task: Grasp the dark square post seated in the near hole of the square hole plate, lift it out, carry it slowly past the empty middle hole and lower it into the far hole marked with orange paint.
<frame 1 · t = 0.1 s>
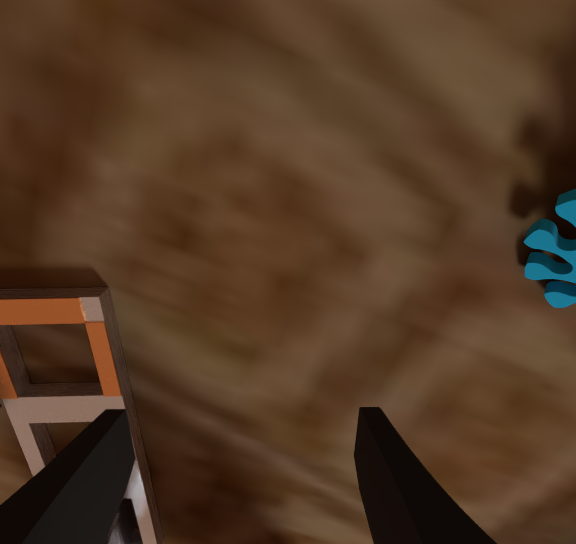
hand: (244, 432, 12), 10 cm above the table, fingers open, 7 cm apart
square hole plate: (88, 436, 25), on the table
dark square post: (109, 506, 28), resting in square hole plate
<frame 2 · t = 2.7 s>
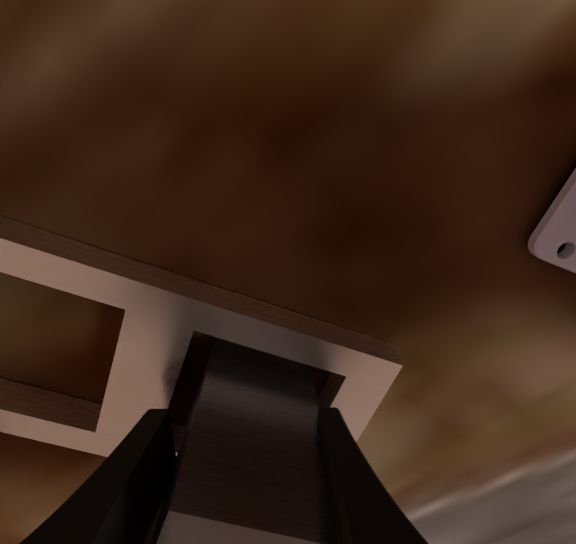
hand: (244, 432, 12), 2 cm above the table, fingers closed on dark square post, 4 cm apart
square hole plate: (47, 331, 12), on the table
dark square post: (249, 388, 13), resting in square hole plate, touching gripper
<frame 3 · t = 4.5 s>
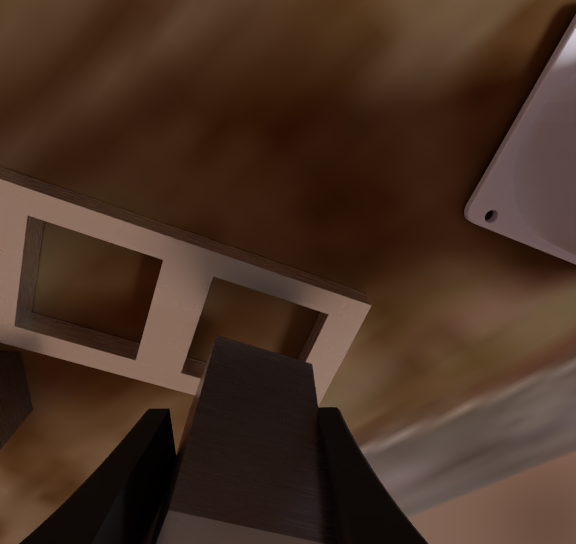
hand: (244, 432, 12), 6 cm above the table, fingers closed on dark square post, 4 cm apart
square hole plate: (99, 281, 16), on the table
dark square post: (249, 387, 13), point 4 cm above the table, touching gripper
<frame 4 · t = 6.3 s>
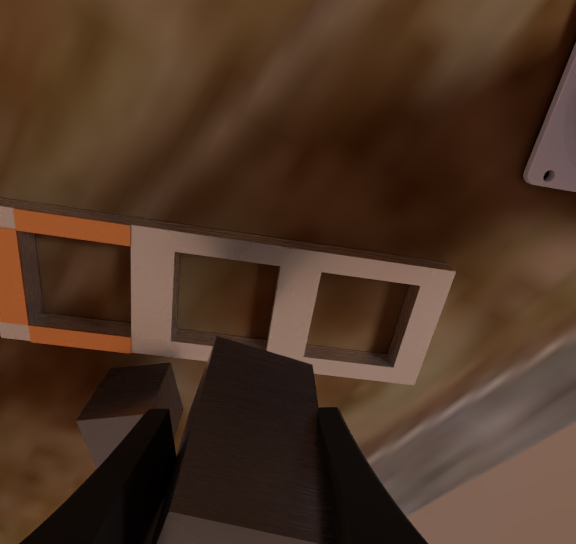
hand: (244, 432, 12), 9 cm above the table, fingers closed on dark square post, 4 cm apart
square hole plate: (226, 294, 20), on the table
grey wood-grain cube: (148, 389, 22), on the table
dark square post: (249, 388, 13), point 7 cm above the table, touching gripper
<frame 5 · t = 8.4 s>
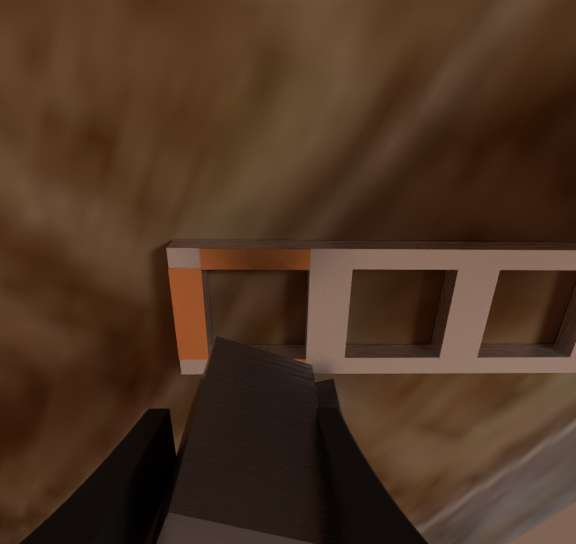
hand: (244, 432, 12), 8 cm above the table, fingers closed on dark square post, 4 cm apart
square hole plate: (391, 304, 19), on the table
grey wood-grain cube: (310, 407, 22), on the table
dark square post: (249, 388, 13), point 6 cm above the table, touching gripper
when the fingers open (3 cm above the table, at t = 10.0 s): dark square post drops 1 cm, resting in square hole plate.
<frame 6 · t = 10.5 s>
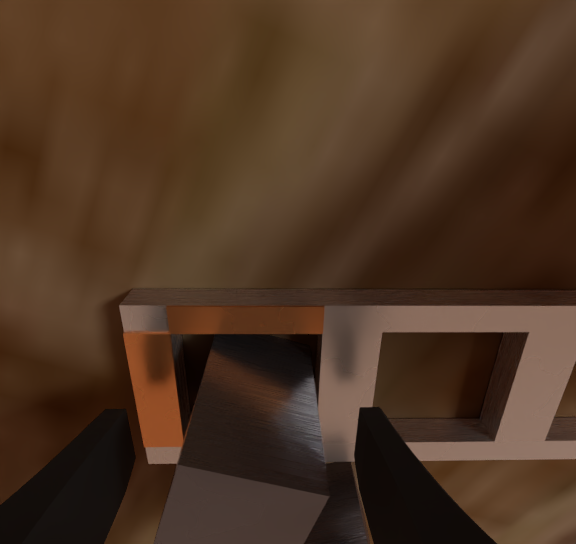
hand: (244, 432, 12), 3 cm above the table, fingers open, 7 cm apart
square hole plate: (430, 370, 15), on the table
grey wood-grain cube: (319, 491, 17), on the table
dark square post: (251, 370, 14), resting in square hole plate
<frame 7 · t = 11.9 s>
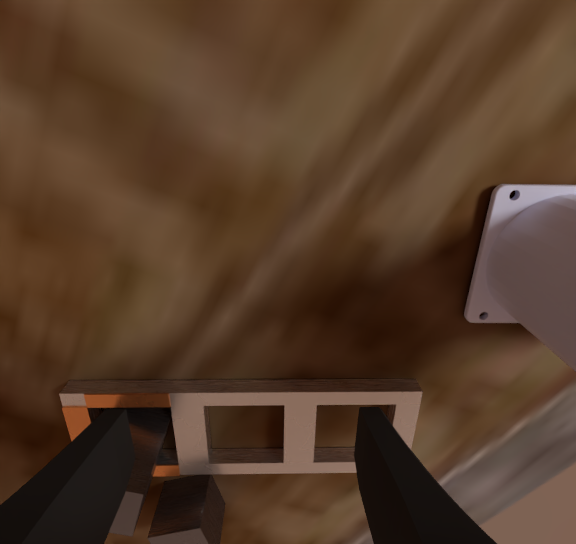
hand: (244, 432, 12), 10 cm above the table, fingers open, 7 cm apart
square hole plate: (246, 421, 25), on the table
grey wood-grain cube: (195, 491, 28), on the table
dark square post: (142, 421, 25), resting in square hole plate
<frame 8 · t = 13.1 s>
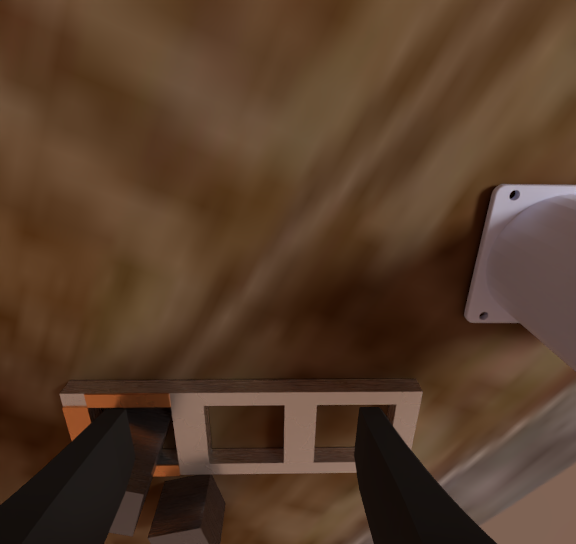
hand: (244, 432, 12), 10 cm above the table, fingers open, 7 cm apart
square hole plate: (246, 421, 25), on the table
grey wood-grain cube: (195, 491, 28), on the table
dark square post: (142, 421, 25), resting in square hole plate
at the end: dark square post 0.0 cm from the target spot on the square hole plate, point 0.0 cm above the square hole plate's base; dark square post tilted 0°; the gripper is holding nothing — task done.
